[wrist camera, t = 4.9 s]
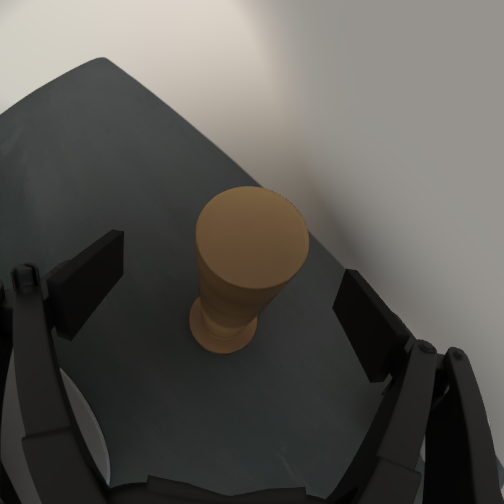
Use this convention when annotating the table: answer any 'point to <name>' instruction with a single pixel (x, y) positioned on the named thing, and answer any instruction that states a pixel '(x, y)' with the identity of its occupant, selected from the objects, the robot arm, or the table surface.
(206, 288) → the wooden pestle
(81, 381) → the table surface
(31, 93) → the table surface
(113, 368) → the table surface
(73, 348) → the table surface
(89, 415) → the container
